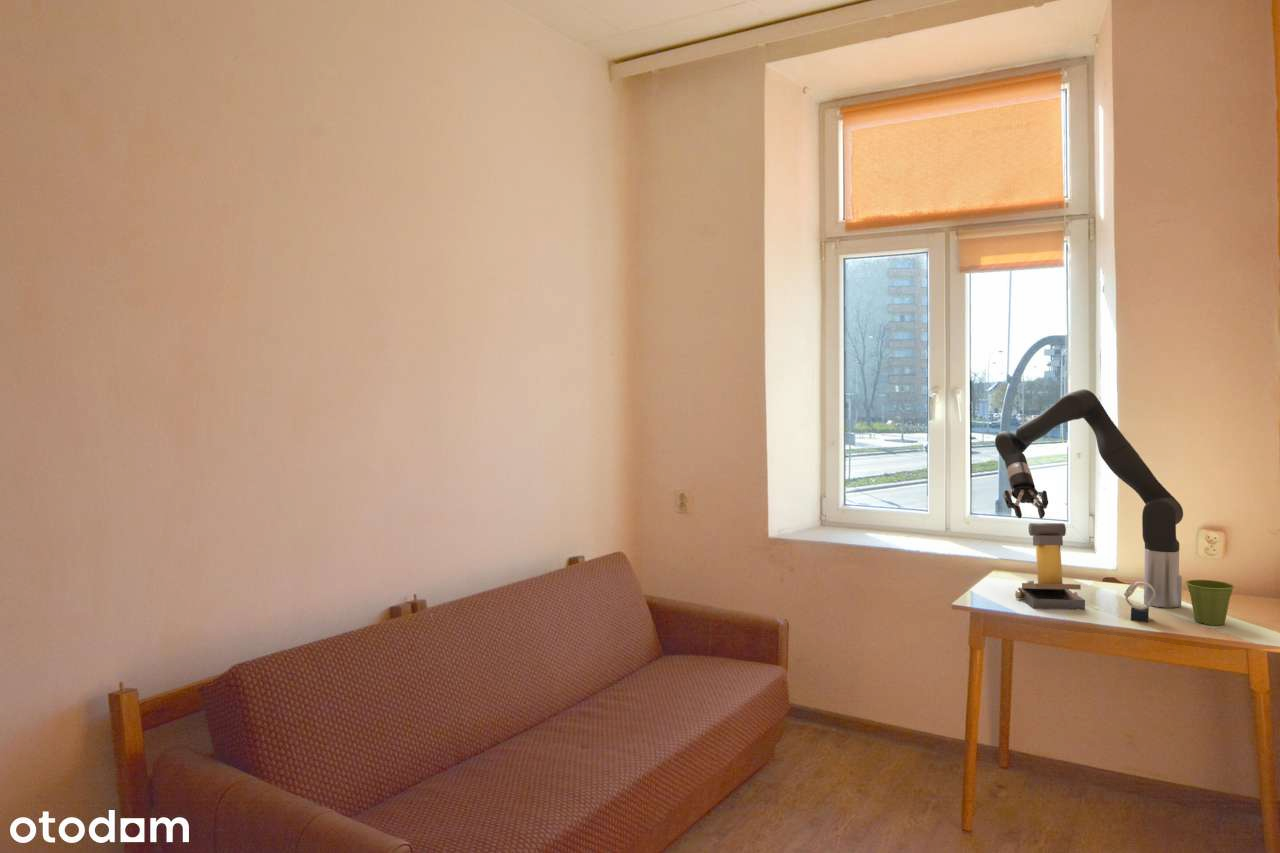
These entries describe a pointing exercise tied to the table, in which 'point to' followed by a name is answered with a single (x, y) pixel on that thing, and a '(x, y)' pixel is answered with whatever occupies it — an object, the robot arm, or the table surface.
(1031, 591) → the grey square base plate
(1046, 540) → the wooden pedestal stand
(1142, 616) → the watch
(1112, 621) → the table surface
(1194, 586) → the plant pot
